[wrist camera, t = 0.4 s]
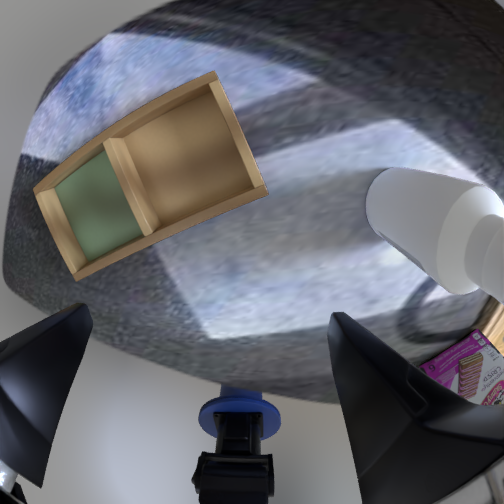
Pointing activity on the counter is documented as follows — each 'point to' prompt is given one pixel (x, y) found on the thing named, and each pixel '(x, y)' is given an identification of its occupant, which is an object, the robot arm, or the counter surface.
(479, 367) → the candy bar box
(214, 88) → the holder
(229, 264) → the counter surface
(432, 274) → the spray bottle
